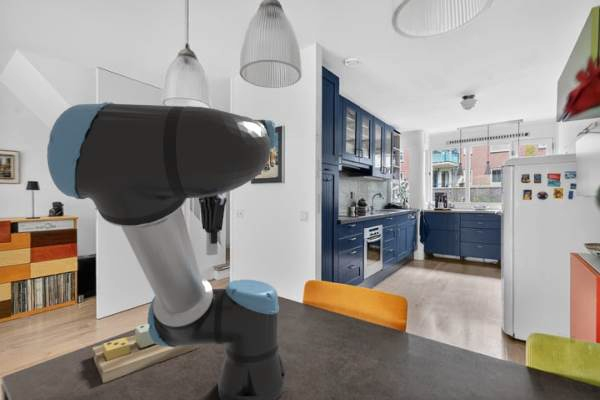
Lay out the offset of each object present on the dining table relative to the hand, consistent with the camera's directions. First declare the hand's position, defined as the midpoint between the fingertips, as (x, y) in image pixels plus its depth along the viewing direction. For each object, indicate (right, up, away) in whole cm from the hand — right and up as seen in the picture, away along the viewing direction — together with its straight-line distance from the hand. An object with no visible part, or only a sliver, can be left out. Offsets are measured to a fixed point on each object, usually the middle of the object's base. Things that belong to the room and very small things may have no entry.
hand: (211, 254), depth 84 cm
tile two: (-16, -23, -4) cm, 29 cm away
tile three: (-22, -25, -10) cm, 35 cm away
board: (-16, -26, -4) cm, 31 cm away
